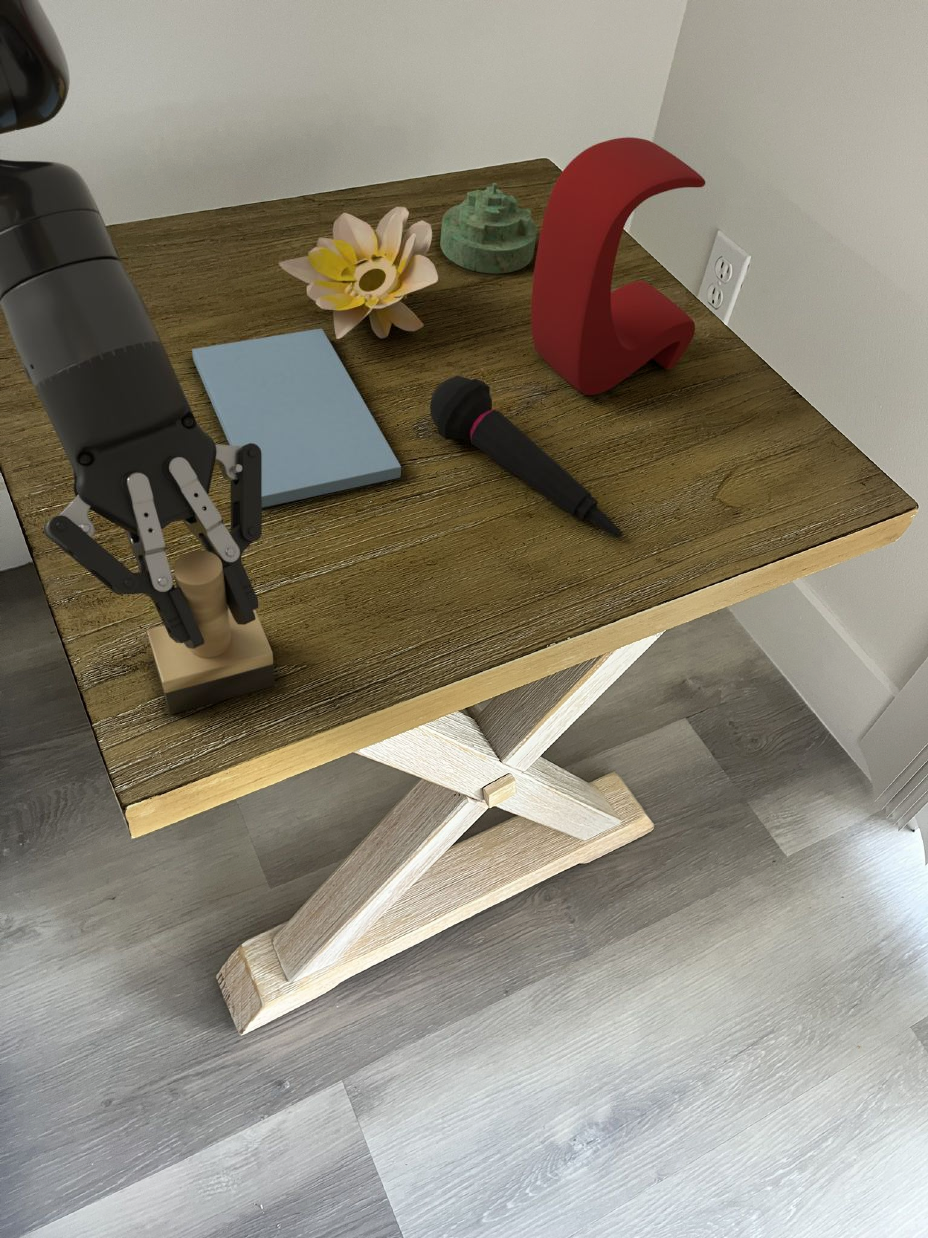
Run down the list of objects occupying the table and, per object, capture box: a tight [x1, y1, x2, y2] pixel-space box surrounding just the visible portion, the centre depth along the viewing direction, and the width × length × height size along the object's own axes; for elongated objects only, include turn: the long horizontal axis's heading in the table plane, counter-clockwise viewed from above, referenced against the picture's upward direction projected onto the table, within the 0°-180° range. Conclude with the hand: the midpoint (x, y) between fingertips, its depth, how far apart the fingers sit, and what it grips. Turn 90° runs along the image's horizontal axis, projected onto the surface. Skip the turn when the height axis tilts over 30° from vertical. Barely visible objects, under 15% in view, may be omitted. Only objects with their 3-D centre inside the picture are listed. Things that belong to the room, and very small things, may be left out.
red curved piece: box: [530, 136, 706, 396], centre depth 85 cm, size 15×7×20 cm, turn 123°
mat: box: [191, 328, 402, 509], centre depth 83 cm, size 12×20×1 cm, turn 24°
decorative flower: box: [278, 206, 439, 340], centre depth 91 cm, size 15×11×10 cm
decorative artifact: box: [439, 182, 538, 275], centre depth 102 cm, size 10×7×10 cm
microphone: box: [429, 375, 623, 539], centre depth 80 cm, size 6×6×20 cm
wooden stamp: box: [146, 549, 276, 716], centre depth 62 cm, size 7×4×11 cm, turn 114°
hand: (221, 632), depth 60 cm, fingers closed on wooden stamp, 3 cm apart
